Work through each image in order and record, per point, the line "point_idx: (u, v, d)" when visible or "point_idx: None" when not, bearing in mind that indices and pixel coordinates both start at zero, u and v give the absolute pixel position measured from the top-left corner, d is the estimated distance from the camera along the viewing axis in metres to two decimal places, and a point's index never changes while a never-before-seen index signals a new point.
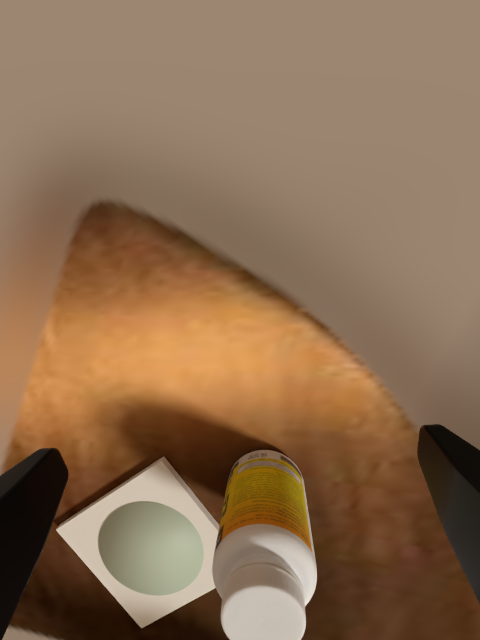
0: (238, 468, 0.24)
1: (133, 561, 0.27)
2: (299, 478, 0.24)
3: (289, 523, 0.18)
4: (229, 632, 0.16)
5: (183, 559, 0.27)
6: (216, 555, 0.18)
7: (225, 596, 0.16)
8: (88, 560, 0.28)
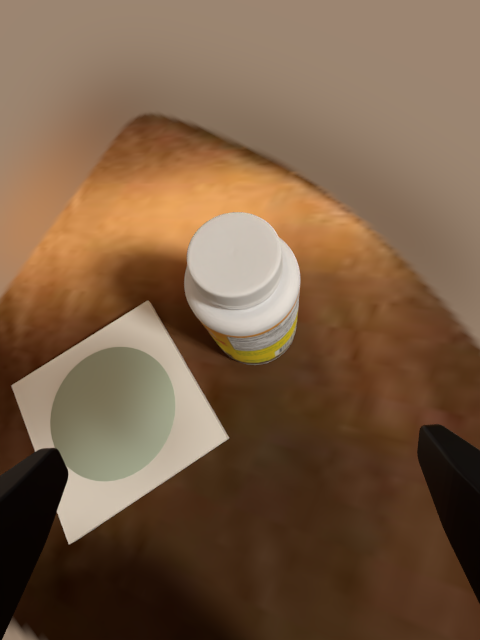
0: None
1: (86, 429, 0.22)
2: None
3: None
4: (194, 267, 0.14)
5: (149, 423, 0.22)
6: None
7: None
8: (33, 428, 0.23)
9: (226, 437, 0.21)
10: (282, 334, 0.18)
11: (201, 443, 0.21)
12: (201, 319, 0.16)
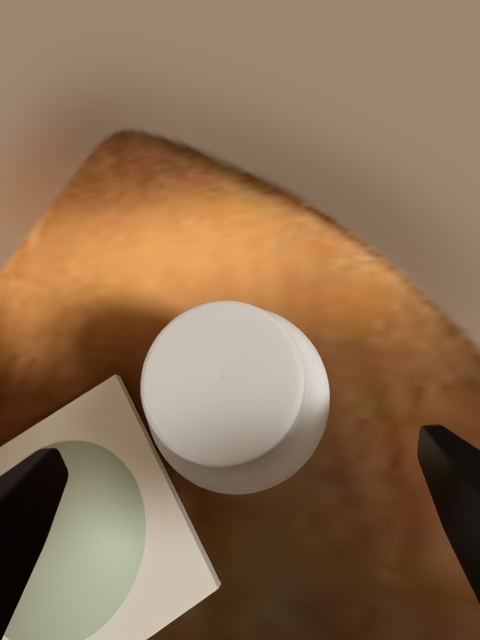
0: None
1: None
2: None
3: None
4: (151, 404, 0.08)
5: (108, 559, 0.16)
6: None
7: None
8: None
9: (216, 586, 0.15)
10: None
11: (180, 595, 0.15)
12: None
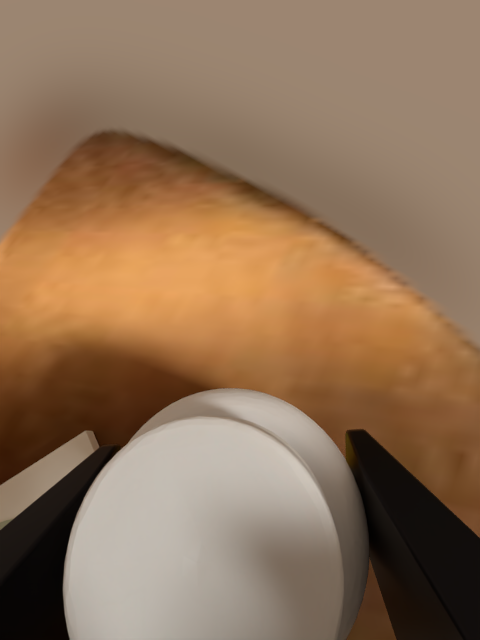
0: None
1: None
2: None
3: None
4: (79, 612, 0.05)
5: None
6: None
7: None
8: None
9: None
10: None
11: None
12: None
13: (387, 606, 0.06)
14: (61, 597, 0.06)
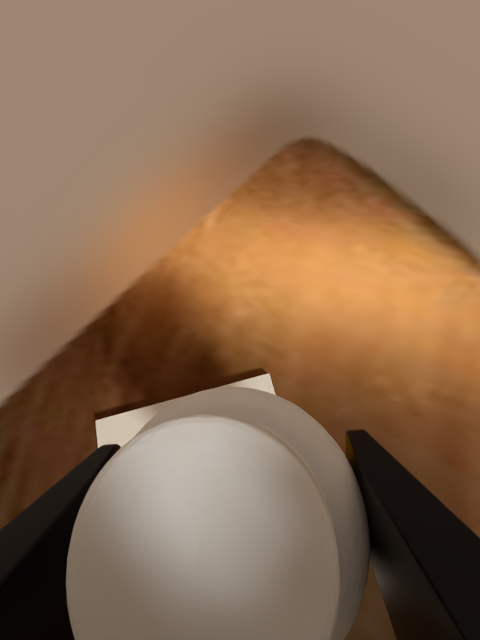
0: None
1: None
2: None
3: None
4: (82, 605, 0.05)
5: None
6: None
7: None
8: None
9: None
10: None
11: None
12: None
13: (387, 606, 0.06)
14: (61, 597, 0.06)
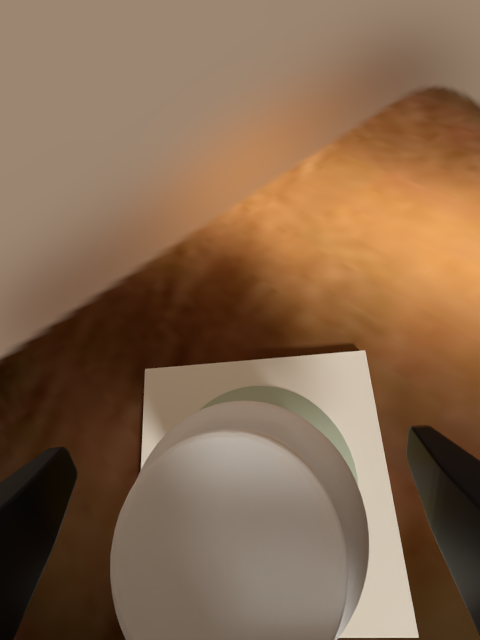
0: None
1: None
2: None
3: None
4: (125, 595, 0.06)
5: None
6: (145, 463, 0.08)
7: None
8: (150, 442, 0.16)
9: (416, 634, 0.13)
10: None
11: (373, 617, 0.13)
12: None
13: (469, 606, 0.06)
14: None
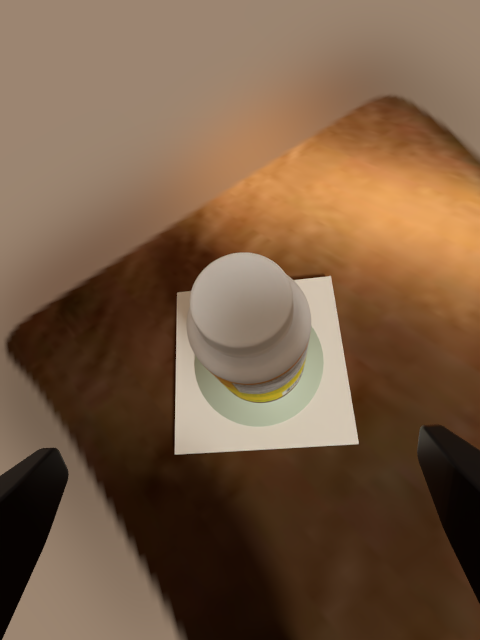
0: None
1: None
2: None
3: None
4: (197, 313, 0.13)
5: None
6: None
7: None
8: (182, 339, 0.24)
9: (357, 442, 0.20)
10: (291, 377, 0.17)
11: (330, 434, 0.20)
12: (204, 365, 0.15)
13: None
14: None
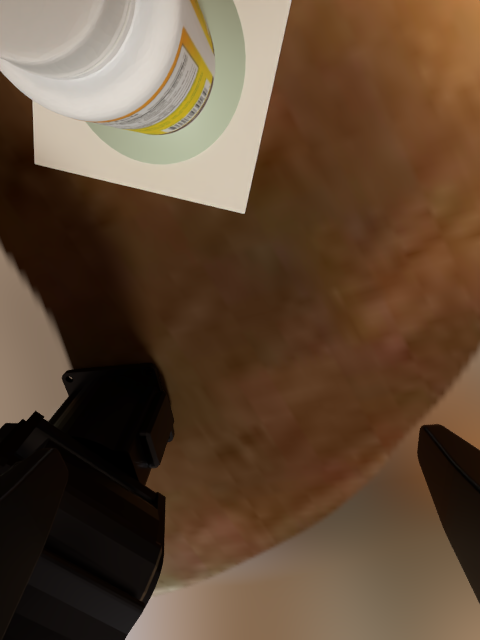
0: None
1: None
2: (209, 35, 0.14)
3: None
4: None
5: None
6: None
7: None
8: None
9: (243, 212, 0.18)
10: (157, 119, 0.12)
11: (218, 195, 0.18)
12: None
13: None
14: None
